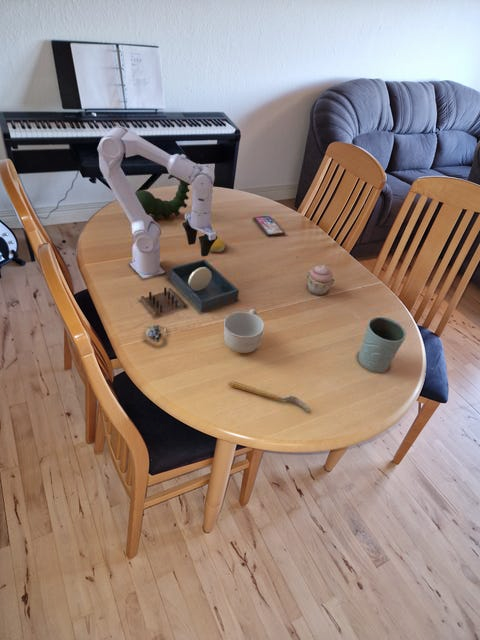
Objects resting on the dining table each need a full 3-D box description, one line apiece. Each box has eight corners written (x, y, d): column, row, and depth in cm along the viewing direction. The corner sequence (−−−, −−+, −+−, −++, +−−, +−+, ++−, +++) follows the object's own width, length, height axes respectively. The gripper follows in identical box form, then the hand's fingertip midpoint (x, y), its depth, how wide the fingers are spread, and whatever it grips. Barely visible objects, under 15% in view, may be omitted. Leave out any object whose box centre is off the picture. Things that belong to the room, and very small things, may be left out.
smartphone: (268, 234, 171) (253, 216, 181) (267, 236, 172) (252, 218, 182) (285, 232, 174) (269, 215, 184) (284, 235, 174) (269, 217, 185)
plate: (191, 293, 137) (185, 275, 131) (211, 280, 140) (207, 262, 134) (192, 295, 137) (187, 276, 130) (213, 282, 139) (209, 264, 133)
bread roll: (212, 255, 155) (213, 245, 153) (197, 244, 160) (197, 234, 158) (230, 249, 160) (231, 240, 158) (214, 239, 165) (215, 229, 162)
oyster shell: (165, 326, 123) (165, 320, 122) (172, 345, 117) (172, 339, 116) (141, 329, 121) (141, 324, 119) (147, 348, 115) (147, 343, 114)
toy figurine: (179, 213, 181) (118, 213, 169) (186, 168, 170) (121, 164, 158) (187, 224, 174) (124, 224, 163) (194, 178, 163) (127, 175, 152)
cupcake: (311, 278, 152) (318, 253, 146) (335, 289, 149) (343, 264, 142) (298, 289, 146) (305, 264, 140) (323, 301, 142) (331, 276, 136)
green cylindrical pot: (369, 377, 118) (384, 344, 110) (348, 352, 124) (360, 319, 117) (398, 369, 122) (414, 337, 114) (376, 345, 128) (390, 313, 121)
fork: (230, 384, 107) (310, 407, 104) (232, 378, 108) (311, 401, 105) (229, 389, 109) (308, 412, 106) (232, 383, 110) (309, 406, 107)
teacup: (247, 364, 115) (251, 342, 110) (213, 346, 119) (216, 324, 114) (271, 337, 125) (277, 315, 120) (240, 321, 129) (243, 300, 124)
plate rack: (140, 300, 130) (140, 292, 128) (170, 291, 136) (170, 283, 134) (155, 317, 125) (155, 309, 123) (185, 307, 130) (185, 299, 128)
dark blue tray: (168, 279, 141) (168, 268, 138) (203, 269, 148) (204, 259, 145) (200, 313, 129) (201, 302, 127) (237, 300, 137) (239, 290, 134)
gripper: (226, 217, 127) (221, 258, 135) (199, 197, 135) (196, 236, 143) (205, 222, 123) (202, 263, 131) (179, 200, 131) (177, 240, 140)
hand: (198, 249), depth 137 cm, fingers open, 7 cm apart
